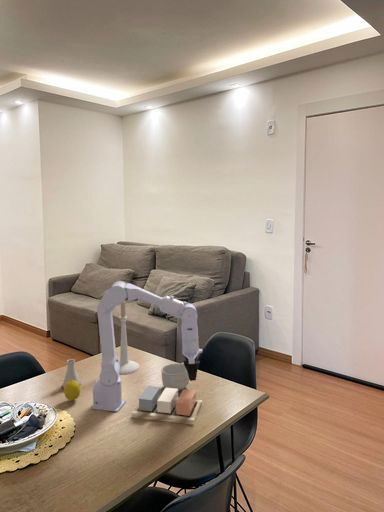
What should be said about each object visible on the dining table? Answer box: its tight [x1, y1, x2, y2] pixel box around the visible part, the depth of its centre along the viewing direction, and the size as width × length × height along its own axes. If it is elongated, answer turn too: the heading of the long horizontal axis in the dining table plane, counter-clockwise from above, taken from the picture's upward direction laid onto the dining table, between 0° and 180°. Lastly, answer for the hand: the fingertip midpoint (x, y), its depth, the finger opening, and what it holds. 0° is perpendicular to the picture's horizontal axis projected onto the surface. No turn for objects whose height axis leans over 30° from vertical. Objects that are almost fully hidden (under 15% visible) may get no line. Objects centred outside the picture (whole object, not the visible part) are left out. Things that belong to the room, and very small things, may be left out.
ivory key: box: [156, 387, 179, 414], centre depth 140 cm, size 4×10×4 cm, turn 167°
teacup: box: [160, 362, 190, 392], centre depth 159 cm, size 14×11×8 cm
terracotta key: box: [175, 388, 197, 417], centre depth 139 cm, size 4×10×4 cm, turn 167°
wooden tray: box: [131, 397, 203, 426], centre depth 141 cm, size 21×14×2 cm, turn 77°
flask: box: [62, 358, 82, 389], centre depth 160 cm, size 7×7×10 cm
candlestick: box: [118, 300, 140, 375], centre depth 175 cm, size 13×13×30 cm
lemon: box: [64, 380, 81, 402], centre depth 147 cm, size 6×6×8 cm
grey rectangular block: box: [138, 385, 161, 412], centre depth 142 cm, size 4×10×4 cm, turn 167°
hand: (192, 375), depth 145 cm, fingers open, 7 cm apart
